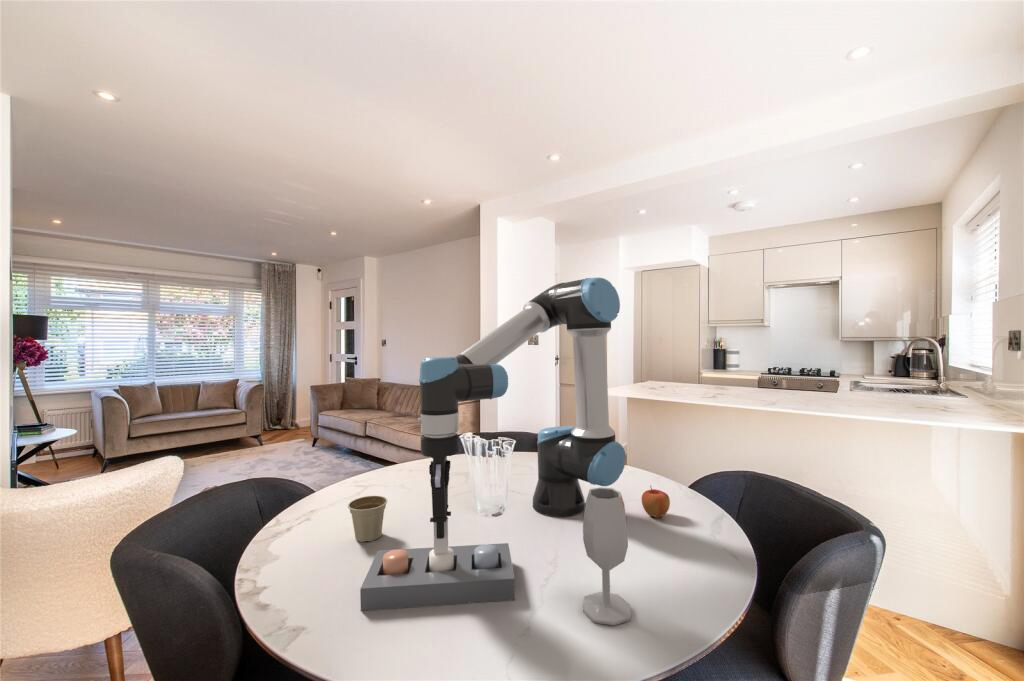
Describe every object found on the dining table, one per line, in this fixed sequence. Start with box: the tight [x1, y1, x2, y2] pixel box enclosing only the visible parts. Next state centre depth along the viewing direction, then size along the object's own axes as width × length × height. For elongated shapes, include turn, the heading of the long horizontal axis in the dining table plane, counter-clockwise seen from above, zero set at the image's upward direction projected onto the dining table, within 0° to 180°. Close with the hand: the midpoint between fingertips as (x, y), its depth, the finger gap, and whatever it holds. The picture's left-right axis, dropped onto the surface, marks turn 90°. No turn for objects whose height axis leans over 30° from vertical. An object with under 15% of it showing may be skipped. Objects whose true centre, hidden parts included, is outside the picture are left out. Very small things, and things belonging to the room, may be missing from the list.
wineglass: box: [581, 486, 632, 626], centre depth 75 cm, size 9×9×21 cm
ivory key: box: [429, 546, 454, 572], centre depth 84 cm, size 5×5×4 cm
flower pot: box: [347, 495, 389, 543], centre depth 105 cm, size 9×9×9 cm
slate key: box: [474, 543, 498, 570], centre depth 85 cm, size 5×5×4 cm
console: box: [360, 542, 516, 612], centre depth 84 cm, size 28×14×4 cm, turn 95°
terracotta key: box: [383, 548, 408, 575], centre depth 83 cm, size 5×5×4 cm
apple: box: [641, 485, 671, 519], centre depth 115 cm, size 7×7×8 cm
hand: (441, 551), depth 84 cm, fingers closed
